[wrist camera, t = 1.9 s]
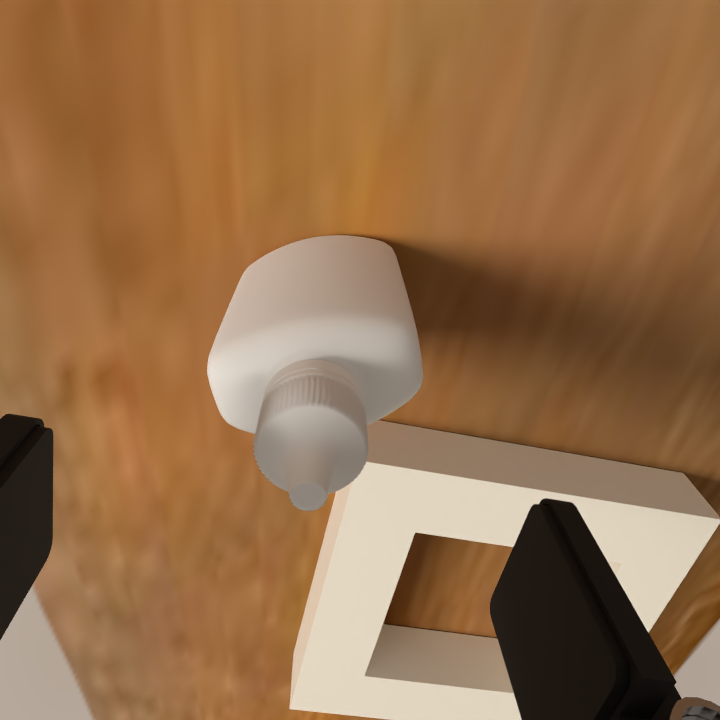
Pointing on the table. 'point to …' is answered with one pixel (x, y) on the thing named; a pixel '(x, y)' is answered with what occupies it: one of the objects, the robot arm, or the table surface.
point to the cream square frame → (475, 523)
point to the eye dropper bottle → (316, 359)
